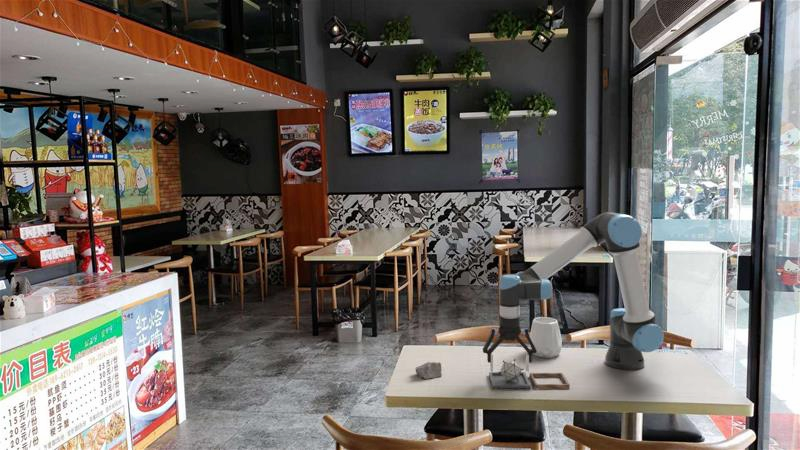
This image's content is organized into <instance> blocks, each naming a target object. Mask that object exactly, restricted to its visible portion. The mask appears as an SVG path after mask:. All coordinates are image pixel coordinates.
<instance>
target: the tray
mask: <svg viewBox="0 0 800 450" xmlns="http://www.w3.org/2000/svg"><path fill="white" fill-rule="evenodd" d="M498 372H499V371H493V372H491V371H489V372H488V377H489V379H490V380H489V382H490V384H491V387H492V390H532V385H531V382H530V380H529V378H528V375H527V374H526V372H524V371H521V373H520V375H519V377H518V380H519V381H517V380H512V381H508V383H506V381H507V380H506V379H505V378H504V377H503V375H502V374H501V373H498Z"/></svg>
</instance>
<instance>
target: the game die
mask: <svg viewBox="0 0 800 450" xmlns="http://www.w3.org/2000/svg"><path fill="white" fill-rule="evenodd" d="M522 371H524V368H522V367H520V366H519V364H518V363H517V362H516V358H514V359H513V360H510V361H505V360H502V366H501V368H500V370H499V371H497V372H498V373H501V374H502V375H503V377H504V378H505V379H506V380H507V381H506V383H508V381H512V380H517V381H519V380H518V377H519V375H520V373H521V372H522Z"/></svg>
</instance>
